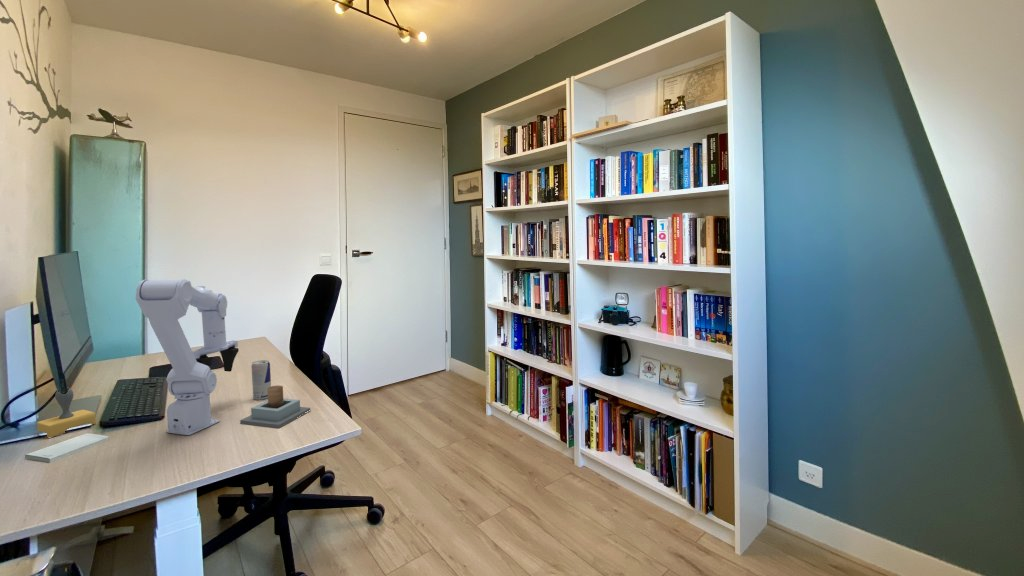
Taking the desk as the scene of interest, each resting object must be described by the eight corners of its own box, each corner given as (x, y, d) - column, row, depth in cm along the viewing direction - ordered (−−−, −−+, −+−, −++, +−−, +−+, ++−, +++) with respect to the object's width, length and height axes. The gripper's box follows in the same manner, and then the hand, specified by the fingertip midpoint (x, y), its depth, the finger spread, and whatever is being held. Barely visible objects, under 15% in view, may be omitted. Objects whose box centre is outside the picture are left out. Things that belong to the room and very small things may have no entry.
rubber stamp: (49, 439, 114) (44, 394, 113) (37, 435, 116) (32, 391, 115) (96, 424, 123) (92, 383, 122) (84, 421, 126) (80, 380, 124)
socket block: (279, 428, 122) (278, 414, 121) (240, 423, 125) (239, 410, 124) (310, 410, 134) (309, 398, 134) (274, 407, 137) (273, 394, 137)
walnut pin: (277, 417, 127) (275, 390, 126) (265, 415, 128) (264, 389, 127) (287, 411, 131) (285, 386, 130) (275, 410, 132) (274, 385, 131)
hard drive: (49, 458, 102) (109, 435, 114) (24, 454, 104) (85, 432, 116) (50, 465, 102) (109, 441, 114) (25, 461, 104) (86, 438, 116)
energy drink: (275, 394, 148) (273, 360, 147) (264, 400, 143) (262, 364, 142) (260, 394, 149) (258, 359, 147) (249, 399, 143) (247, 364, 142)
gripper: (203, 338, 126) (207, 383, 128) (244, 328, 140) (247, 368, 142) (184, 336, 128) (187, 381, 129) (226, 326, 142) (229, 367, 144)
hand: (217, 374), depth 136 cm, fingers open, 7 cm apart
